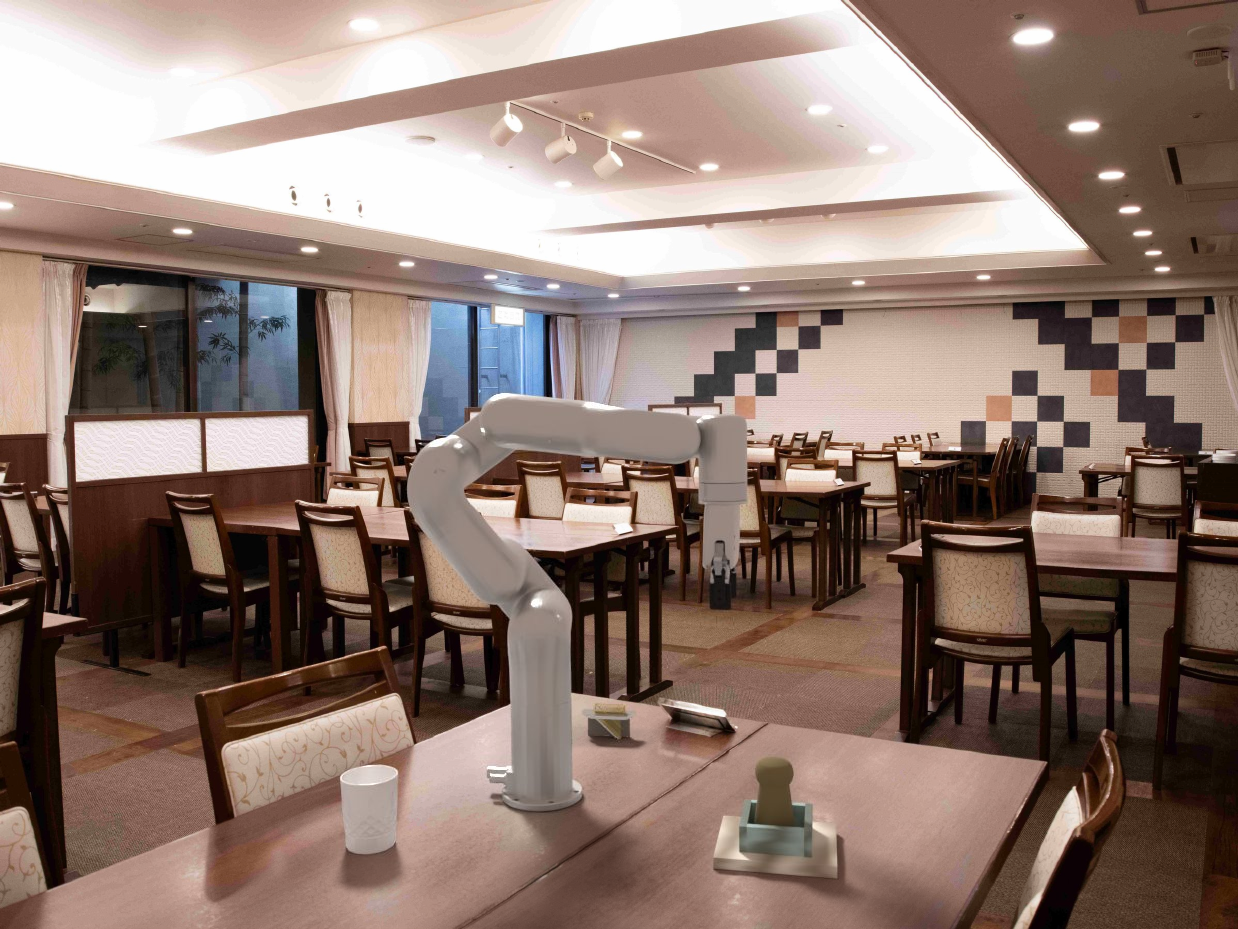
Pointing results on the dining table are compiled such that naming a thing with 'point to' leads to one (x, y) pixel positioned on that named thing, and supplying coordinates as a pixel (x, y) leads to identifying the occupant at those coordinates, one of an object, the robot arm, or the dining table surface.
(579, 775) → the dining table surface
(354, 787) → the white cup
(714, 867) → the shaker caddy
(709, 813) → the dining table surface
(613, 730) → the platform
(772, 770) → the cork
